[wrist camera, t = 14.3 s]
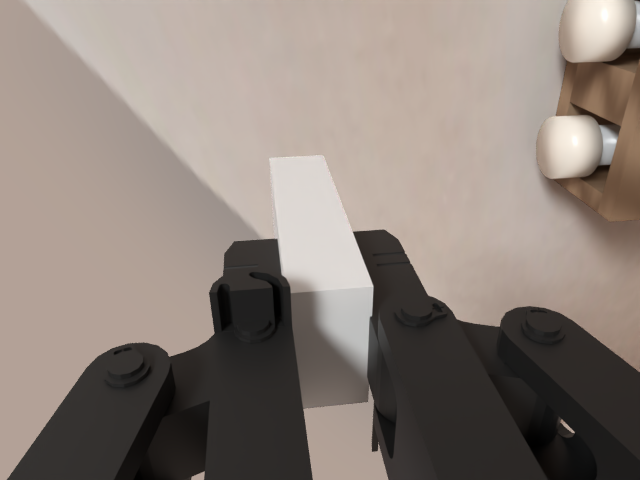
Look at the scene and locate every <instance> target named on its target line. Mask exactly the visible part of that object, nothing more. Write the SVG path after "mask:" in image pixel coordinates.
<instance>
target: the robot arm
mask: <svg viewBox="0 0 640 480" xmlns="http://www.w3.org/2000/svg"><path fill="white" fill-rule="evenodd" d="M269 160H270V177H271V194H272V211H273V227H274V239H264V240H250V241H236V242H234V243H233V244H232V245H231V246H230V248H229V249H228V250H227V251H226V252H225V255H224V271H223V276H222V277H221V278H219V279H218V280H217V281H216V282H215V283H213V285H212V287H211V290H210V292H209V295H210V302H211V310H212V317H213V325H214V332H215V334H214V335H213V336H212V337H211V338H210V339H209V340H208V341H206V342H205V343H203V344H201V345H200V346H198V347H196V348H194V349H191V350H189V351H186V352H184V353H180V354H177V355H174V356H171V357H169V356H168V353H167V352H166V351H165V350H163V349H162V348H160V347H159V346H157V345H152V344H148V343H130V344H125V345H122V346H119V347H115V348H112V349H110V350H109V351H107V352H105V353H103V354H102V355H100V356H98V357H97V358H96V359H95V360H94V361H93V362H92V363H91V364H90V365H89V366H88V367H87V368H86V369H85V371H84V372H83V374H82V375H81V376H80V378H79V379H78V381H77V382H76V384H75V385H74V386H73V388H72V389H71V391H70V392H69V393H68V395H67V396H66V398H65V399H64V400H63V402H62V403H61V405H60V406H59V407H58V409H57V410H56V412H55V413H54V415H53V416H52V417H51V419H50V420H49V422H48V423H47V424H46V426H45V427H44V429H43V430H42V431H41V433H40V434H39V436H38V437H37V438H36V440H35V441H34V443H33V444H32V445H31V447H30V448H29V450H28V451H27V452H26V454H25V455H24V457H23V458H22V459H21V461H20V462H19V464H18V465H17V466H16V468H15V469H14V471H13V472H12V473H11V475H10V476H9V478H8V479H7V480H191V477H192V476H194V475H196V474H199V473H201V472H204V471H205V477H204V480H313V479H312V471H311V464H310V456H309V450H308V441H307V434H306V426H305V419H304V411H303V409H305V408H314V407H324V406H333V405H343V404H353V403H362V402H368V391H369V385H370V389H371V392H372V396H373V399H374V411H373V431H372V452H373V451H378V442H379V446H380V449H381V453H382V457H383V461H384V464H385V468H386V471H387V475H388V479H389V480H640V372H638V371H637V370H636V369H634V368H633V367H632V366H631V365H629V364H628V363H627V362H625V361H624V360H623V359H622V358H620V357H619V356H618V355H616V354H615V353H614V352H612V351H611V350H610V349H609V348H607V347H606V346H605V345H603V344H602V343H601V342H600V341H598V340H597V339H596V338H594V337H593V336H592V335H590V334H589V333H588V332H587V331H585V330H584V329H583V328H581V327H580V326H579V325H578V324H576V323H575V322H574V321H572V320H571V319H569V318H567V317H565V316H564V315H562V314H560V313H558V312H555V311H552V310H549V309H546V308H540V307H531V306H528V307H519V308H515V309H513V310H511V311H509V312H506V314H505V315H504V317H503V318H502V320H501V324H500V327H495V326H488V325H480V324H473V323H468V322H463V321H460V320H457V319H456V317H455V316H454V314H453V312H452V311H451V310H450V309H449V307H448V306H447V305H446V304H445V303H443V302H441V301H439V300H438V299H436V298H434V297H430V296H428V295H427V293H426V291H425V289H424V287H423V285H422V283H421V281H420V279H419V278H418V276H417V274H416V272H415V270H414V268H413V266H412V264H410V261H409V259H408V257H407V255H406V254H405V251H404V249H403V247H402V245H401V244H400V242H399V240H398V239H397V238H395V237H394V236H393V235H391V234H390V233H388V232H387V231H386V230H371V231H357V232H352V229H351V226H350V224H349V221H348V219H347V216H346V213H345V211H344V208H343V206H342V203H341V200H340V198H339V195H338V193H337V190H336V187H335V185H334V182H333V179H332V177H331V174H330V172H329V169H328V166H327V164H326V161H325V159H324V156H323V155H314V156H295V157H276V158H269ZM561 419H562V420H563V421H564V422H565V423H566V424H568V426H569V427H570V428H572V430H573V431H574V432H575V434H574V433H571V432H570V431H569V430H567V429H566V428H565V427H564V426H563V425H562V424H561V423H560V421H561Z"/></svg>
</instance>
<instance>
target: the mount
mask: <svg viewBox="0 0 640 480" xmlns="http://www.w3.org/2000/svg"><path fill="white" fill-rule="evenodd" d="M635 1H640V0H635ZM574 115H589V116H591V117H593V118H594V119H595V120H596V121H597V123H598V124H599V125H613V124H617V125H619V126H621V129H620V132H619V136H618V140H617V143H616V147H615V150H614V154H613V158H612V161H611V165H598V166H597V168H596V169H595V171H594V172H593V173H592V174H590V175H589V176H586V177H574V178H557V179H553V180H555V181H556V182H557V183H559V184H560V185H561V186H563V187H564V188H565V189H567V190H568V191H569V192H571V193H572V194H573V195H575V196H576V197H577V198H579V199H580V200H581V201H583V202H584V203H585V204H587V205H588V206H589V207H591V208H592V209H593V210H595V211H596V212H597V213H599V214H600V215H601V216H603V217H604V218H605V219H607V220H608V221H609V222H613V221H627V220H640V48H626V50H625V51H624V52H623V53H622V55H620V56H619V57H618V58H617V59H615V60H613V61H604V62H577V63H572V62H569V61H567V65H566V70H565V74H564V79H563V84H562V89H561V93H560V98H559V103H558V108H557V112H556V116H574Z"/></svg>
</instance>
